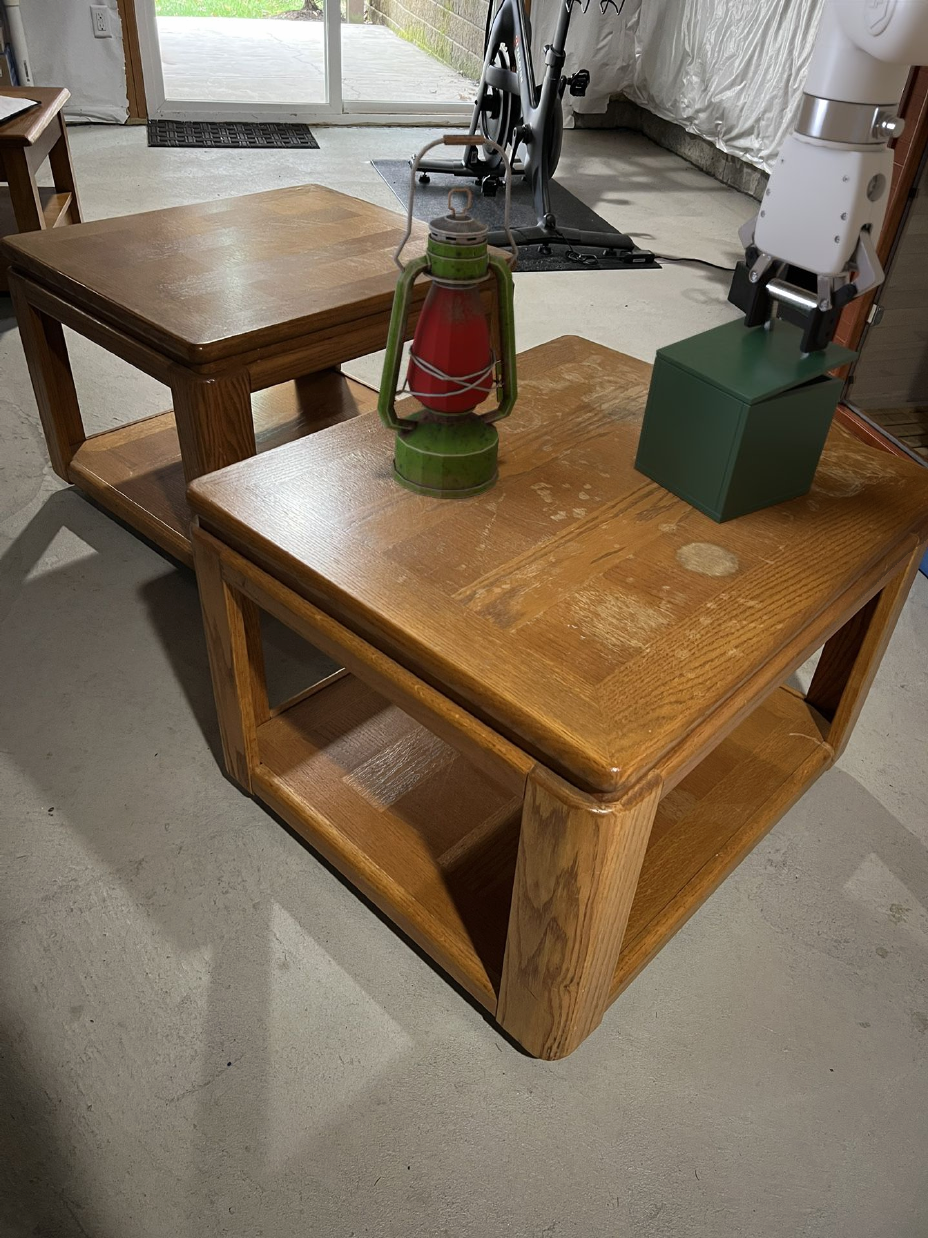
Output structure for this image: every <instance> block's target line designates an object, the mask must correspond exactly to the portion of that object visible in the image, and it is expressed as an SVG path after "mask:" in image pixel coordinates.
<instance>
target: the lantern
mask: <svg viewBox="0 0 928 1238" xmlns="http://www.w3.org/2000/svg"><path fill="white" fill-rule="evenodd" d="M442 144H443V145H444V146H483V145H484V144H485V145H488V146H490V147H492V148H493V149H495V150H496V151H497V152H499V155H500V156H501V158H502V159H503V162H504V167H505V170H506V175H505V179H506V180H505V203H504V204H505V205H504V206H505V207H504V232H505V234H506V237H507V239H508V242H509V245H510V246H511V248H512V250H513V254H512V256H511V257H510V259H508V261H506V260H505V258H504V257H503V256H501V255H497V254H494V253H490V252H489V251H488V238H487V237H488V236H486V235H487V234H488V233H489V226H488V225H487V223H484V222H483V221H481V220H478V219H476V218H474V217H473V216H470V215H467V214H466V211H467V210H469V209H471V206H472V197H473V196H472V192H471V190H469V188H468V187H464V188H463V187H462V188H455V187H453V188H452V189H451V190H450V191H449V192H448V195H447V208H448V210H449V211H451V213H449V214H446V215H443V216H440V217H437V218H433V219H431V220H430V221H429V222H428V226H427V227H428V230H429V231H430V233H428V234H427V247H426V250H425V251H426V252H425V254H424V255H421V256H419V257H416V258H413V259H410V260H408V262H407V263H406V265H405V266H403V263H402V262H401V261H400V259H399V257H400V254H401V253H402V251H403V249H404V247H405V245H406V243H407V241H408V240H409V238H410V236H411V234H412V226H413V225H412V224H413V214H414V213H413V211H414V199H415V197H414V196H415V183H416V173H417V170H418V167H419V164H420V162H421V160H422V158H423V157H424V156H425V155H426V153H427V152H428V151H430V150H431V149H433V148H434V147H436V146H439V145H442ZM412 164H413V165H412V167H411V169H410V178H409V189H408V190H409V192H408V207H407V219H406V222H407V223H406V231H405V233H404V235H403V237H402V239H401V240H400V243H399V244H398V247H397V249H395V252H394V255H393V257H392V258H393V261H394V263H395V265H396V266H397V268H398V270H399V271H400V273H399V275H398V276H397V279H396V283H395V289H394V296H393V302H392V309H391V313H390V314H391V315H390V321H389V329H388V333H387V334H388V335H387V341H386V348H385V353H384V361H383V366H382V373H381V379H380V386H379V391H378V392H379V393H378V399H377V406H376V410H377V413H378V416H379V419H380V422H381V425H382V427H383V429H387V430H391V431H394V432H395V434H394V435H395V436H394V443H395V444H394V458H393V459H392V462H391V472H392V478H393V479H394V480H395V481H396V482H397V483H398V484H399V485H400V486H401V487H402V488H404V489H407V490H408V491H411V492H414V493H415V494H418V495H419V496H426V497H431V498H436V499H465V498H468V497H473V496H478V495H482V494H483V493H485V492H486V491H488V490H489V489H491V488H493V487H494V486H495V485H496V483H497V481H498V479H499V476H500V475H499V474H500V472H499V466H498V456H499V455H498V454H499V444H500V434H499V432H498V428H497V426H496V425H494V424H495V423H497V422H499V421H502V420H503V419H506V418H508V417H510V416H511V414H512V411H513V409H514V406H515V404H516V402H517V400H518V397H519V395H518V370H517V369H518V368H517V349H516V325H515V323H516V322H515V307H514V306H515V305H514V304H515V302H514V300H515V299H514V282H513V281H514V280H513V273H512V270H511V268H510V267H511V266H512V264H513V263H514V262H515V260H516V259H517V258H518V256H519V250H518V247H517V245H516V242H515V240H514V237H513V235H512V233H511V230H510V208H511V186H512V185H511V182H512V168H511V164H510V160H509V157H508V155H507V153H506V151H505V149H503V147H502V146H501V145H499V144H498V143H497V142H496V141H494V140H492V139H489V138H486V137H485V135H484V134H443V135H442V137H440V138H438V139H435V140H432V141H431V142H429V143H428V144H426V145H425V146H423V148H421V150H420V151H419V152H418V154H417V155H416V156H415V158H414V161H413V163H412ZM454 192H466V193H467V194H468V201H467V206H465V207H463V209H462V211H460V212H456V209H455V207H453V206H451V201H452V195H453V193H454ZM491 273H492V274H493V275H494V279H495V291H496V310H497V326H498V327H497V329H498V346H499V360H498V361H497V360H496V354H495V350H494V348H492V347H491V343H490V341H491V340H490V333H489V328H488V323H487V318H486V312H485V307H484V303H483V300H482V296H481V293H480V290H479V286H478V285H479V283H482V282H483V281H487V280H488V279H489V277H490V276H491ZM421 274H422V275H424V276H425V277H427V279H431V280H432V282H431V285H430V287H429V289H428V292H427V294H426V297H425V300H424V302H423V305H422V308H421V312H420V314H419V317H418V321H417V324H416V327H415V331H414V335H413V341H412V344H410V345H409V348H408V352H407V353H408V355H409V361H408V365H407V371H406V376H405V378H404V381H403V384H402V388H401V389H398V384H399V378H400V372H401V366H402V361H403V360H402V359H403V353H404V347H405V343H406V342H405V340H406V335H407V328H408V324H409V323H408V322H409V316H410V310H411V305H412V304H411V303H412V300H413V299H412V298H413V293H414V285H415V282H416V280H417V278H418V277H419V276H420V275H421ZM493 369H494V370H495V371H494V373H495V378H494V376H493V375H494V374H493ZM494 384H495V385H494ZM407 385H408V389H409V390H407V389H406V386H407ZM493 385H494V386H493ZM397 389H398V390H397ZM494 390H495V391H496V393H495V394H496V402H497V403H498V406H497V408H494V409H493V410H489V411H486V412H483V413H481V414H477V413H476V412H475V410H476V408H477V406H479V405H480V404H482V403H484V402H486V400H487V399H488V397H489V395H490V393H491V392H492V391H494ZM403 393H404V394H409V395H411V396H412V397H413V398H414V399H416V400H417V401H418V402H419V403H421V407H422V408H423V409H420V410H418V411H415V412H413V413H410V414H409V415H407V416H405V417H398V415H397V412H396V409H395V402H396V397H397V396H400V395H402V394H403Z"/></svg>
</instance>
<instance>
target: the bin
mask: <svg viewBox="0 0 928 1238" xmlns="http://www.w3.org/2000/svg"><path fill="white" fill-rule="evenodd" d="M845 382H846V381H845V380H843V379H841V378H839V377H837V376H835V375H833V374H831V373H829V372H827V373H824V374H822V375H820V376H817V377H815V378H813V379H810V380H808V381H806V382H803V383H801V384H799V385H797V386H794V387H792V388H790V389H787V390H785V391H783V392H780V393H778V394H776V395H773V396H771V397H769V398H766V399H764V400H762V401H759V402H757V403H755V404H752V405H749V404H748V403H746V402H744V401H742V400H740V399H738V398H736V397H734V396H732V395H730V394H728V393H727V392H725V391H723V390H721V389H719V388H717V387H715V386H713V385H711V384H709V383H707V382H706V381H704V380H702V379H700V378H698V377H696V376H694V375H692V374H690V373H688V372H686V371H685V370H683V369H681V368H679V367H677V366H675V365H673V364H671V363H669V362H667V361H666V360H664V359H662V358H660V357H658V356H656V355H655V357H654V361H653V367H652V372H651V377H650V383H649V387H648V393H647V398H646V404H645V408H644V412H643V413H644V414H643V418H642V425H641V429H640V434H639V440H638V444H637V450H636V454H635V455H636V456H635V459H634V460H635V461H634V466H633V468H634V469H635V470H636V471H638V472H640V473H642V474H643V475H645V477H647V478H649V479H650V480H652V481H654V482H655V483H657V484H658V485H659V486H661V487H663V488H664V489H666V490H667V491H669V492H670V493H672V494H673V495H675V496H676V497H678V498H679V499H681V500H682V501H684V502H686V503H687V504H689V505H690V506H692V507H693V508H695V509H696V510H698V511H700V512H701V513H703V515H705V516H707V517H709V518H710V519H712V520H713V521H714V522H716V523H718V524H721V523H724V522H728V521H731V520H733V519H737V518H739V517H743V516H745V515H748V514H751V513H754V512H758V511H760V510H763V509H766V508H768V507H772V506H775V505H777V504H781V503H783V502H786V501H789V500H792V499H795V498H798V497H801V496H803V495H806V494H807V495H808V494H809V493H810V490H811V487H812V484H813V481H814V477H815V475H816V472H817V469H818V466H819V463H820V460H821V457H822V455H823V450H824V447H825V444H826V441H827V438H828V435H829V432H830V429H831V426H832V424H833V420H834V417H835V414H836V410H837V408H838V404H839V401H840V398H841V395H842V392H843V390H844V386H845Z"/></svg>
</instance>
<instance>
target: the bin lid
mask: <svg viewBox="0 0 928 1238" xmlns="http://www.w3.org/2000/svg"><path fill="white" fill-rule="evenodd" d="M765 296H766V297H767V298H769V300H768V306H767V312H766V318H765V324H764V325H760V326H756V327H751V328H749V327H746V326H744V321H745V317H746V315H744V316H742V317H738V318H737V319H733V320H731V321H728V322H726V323H723V324H721V325H718V326H715V327H713V328H709V329H706V330H704V331H702V332H700V333H696V334H694V335H692V336H689V337H686V338H684V339H682V340H681V339H680V340H678V341H675V342H673V343H671V344H668V345H666V346H665V345H664V346H662V347H660V348H657V349H656V351H655V356H658V357H660V358H662V359H664V360H666V361H667V362H669V363H671V364H673V365H675V366H677V367H679V368H681V369H683V370H685V371H686V372H688V373H690V374H692V375H694V376H696V377H698V378H700V379H702V380H704V381H706V382H707V383H709V384H711V385H713V386H715V387H717V388H719V389H721V390H723V391H725V392H727V393H728V394H730V395H732V396H734V397H736V398H738V399H740V400H742V401H744V402H746V403H748V404H749V405H752V404H755V403H757V402H759V401H762V400H764V399H766V398H769V397H771V396H773V395H776V394H778V393H780V392H783V391H785V390H787V389H790V388H792V387H794V386H797V385H799V384H801V383H803V382H806V381H808V380H810V379H813V378H815V377H817V376H820V375H822V374H824V373H829V372H831V371H833V370H834V371H835V370H836V369H838V368H841V367H842V366H845V365H847V364H850V363H852V362H855V361H857V360H858V359H859V356H860V353H859V352H857V351H855V350H852V349H850V348H848V347H845V346H843V345H840V344H839V343H836V342H834V341H832V340H831V341H830V342H829V343H828V346H827V347H826V348H825V349H823V350H819V351H814V352H810V353H804V352H801V351H800V344H801V341H802V337H803V334H804V330H805V328H804V329H803V328H801V327H799V326H797V325H795V324H792V323H790V322H787V321H785V320H783V319H781V318H778V317H777V313H778V306H779V304H782V305H785V306H787V307H789V308H790V309H791V308H792V309H793V310H796V311H798V312H801V313H803V314H806V315H808V316H809V313H810V310H811V309H812V308H815V307H818V293H814V292H812V291H809V290H808V289H804V288H802V287H800V286H797V285H795V284H792V283H790V282H787V281H784V280H781V279H780V278H778V277H777V278H773V279H771V280H770V281H769V282H768V284H767V285H766V288H765Z"/></svg>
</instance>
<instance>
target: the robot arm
mask: <svg viewBox="0 0 928 1238" xmlns="http://www.w3.org/2000/svg"><path fill="white" fill-rule="evenodd" d="M819 21H820V22H819V25H818V29H817V33H816V38H815V42H814V45H813V49H812V50H813V51H812V54H811V58H810V62H809V66H808V70H807V75H806V79H805V82H804V87H803V91H802V94H801V99H800V103H799V107H798V111H797V115H796V119H795V122H794V127H793V129H792V131H789V132H788V133H787V134H786V137H785V138H784V140H783V143H782V145H781V147H780V149H779V152H778V154H777V157H776V159H775V162H774V163H773V164H774V165H773V167H772V170H771V172H770V176H769V179H768V181H767V184H766V188H765V191H764V194H763V198H762V201H761V204H760V208H759V210H758V211H759V212H758V213H757V214H755V215H754V216H753V217H752V218H750V219H749V220H748V221H746V222H745V223H744V224H743V225H742V226H740V227H739V229H738V233H737V234H738V237H739V240H740V243H741V245H742V248H743V250H745V252H744V257H745V260H746V263H747V265H748V268H749V270H750V271H749V273H748V280H749V281H750V282H751V283H752V286H751V291H750V294H749V299H748V303H747V307H746V313H745V316H746V317H745V321H744V326H746V327H749V328H751V327H756V326H760V325H764V324H765V318H766V312H767V306H768V300H769V298H767V297H766V296H765V288H766V285H767V284H768V282H769V281H770V280H771V279H773V278H777V279H778V277H779V275H780V273H782V271H783V270H784V268H785V266H786V265H787V264H789V265H791V266H794V267H796V268H797V267H798V268H800V269H803V270H806V271H807V272H810V273H813V274H816V277H817V278H816V279H817V295H818V307H815V308H812V309H811V310H810V313H809V315H808V317H807V321H806V323H805V327H804V334H803V337H802V341H801V344H800V351H801V352H804V353H810V352H814V351H819V350H823V349H825V348H826V347H827V346H828V343H829V342H830V341H832V338H833V335H834V332H835V329H836V325H837V323H838V319H839V316H840V313H841V309H843V308H846V307H848V306H849V305H850V303H852V302H854V301H855V300H857V299H859V298H860V297H862V296H863V295H864V294H866V293H868V292H869V291H871V290H873V289H875V288H876V287H877V286H879V285H881V284H882V283H883V282H884V281H885V278H886V275H885V273H884V270H883V266H882V264H881V261H880V260H879V259H880V258H879V257H878V254H877V252H876V250H877V247H878V244H879V240H880V236H881V232H882V229H883V226H884V225H883V224H884V220H885V216H886V212H887V209H888V208H887V207H888V202H889V199H890V198H889V197H890V192H891V186H892V179H893V170H894V160H895V149H894V148H890V147H887V145H888V142H889V141H890V138H895V139H897V138H899V137H900V136H901V135H902V133H904V131H905V127H906V121H905V120H904V118H900V117H898V116H897V115H898V113H899V110H900V109H899V108H900V102H901V99H902V96H903V91H904V88H905V87H906V84H907V80H908V76H909V73H910V70H911V67H912V66H915V67H916V66H918V67H919V66H921V67H928V0H825V2H824V6H823V9H822V14H821V18H820V20H819ZM850 272H854V273H855V272H856V273H857V272H858V276H857V277H856V278H854V279H853V280H852V281H850V279H851V278H850Z"/></svg>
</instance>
